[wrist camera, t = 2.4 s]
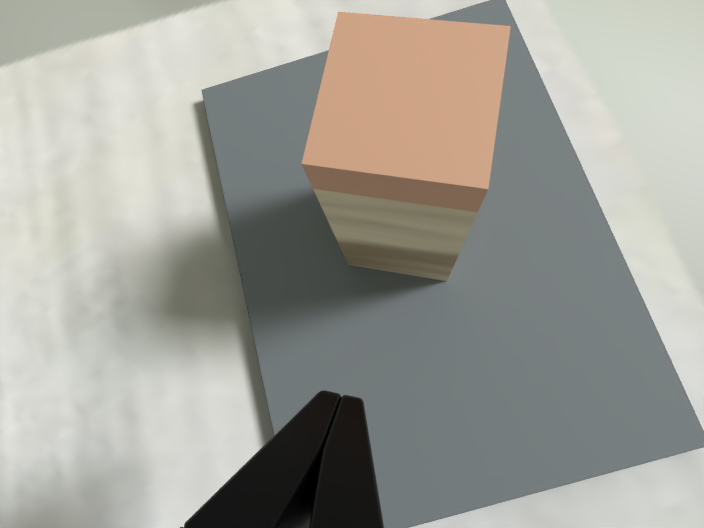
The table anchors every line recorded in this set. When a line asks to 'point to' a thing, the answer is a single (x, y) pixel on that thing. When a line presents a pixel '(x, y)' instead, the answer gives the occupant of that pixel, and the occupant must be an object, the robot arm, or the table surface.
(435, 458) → the slate mat
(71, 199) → the table surface
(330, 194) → the beech block
